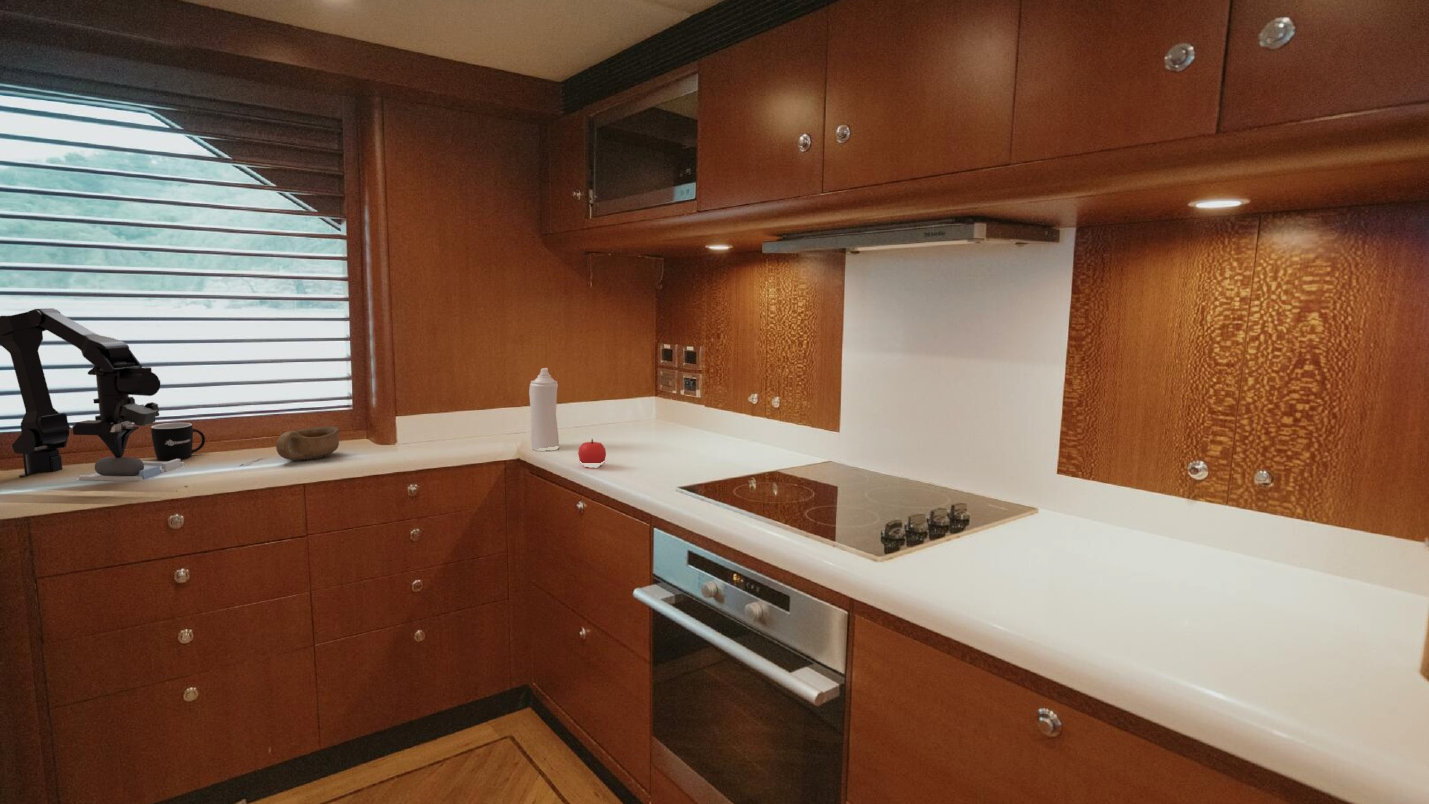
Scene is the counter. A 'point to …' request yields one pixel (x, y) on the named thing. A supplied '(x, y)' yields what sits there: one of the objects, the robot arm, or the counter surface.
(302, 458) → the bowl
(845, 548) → the counter surface
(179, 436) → the mug
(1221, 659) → the counter surface
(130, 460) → the grey capsule
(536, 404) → the spray can
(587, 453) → the apple
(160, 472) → the board
